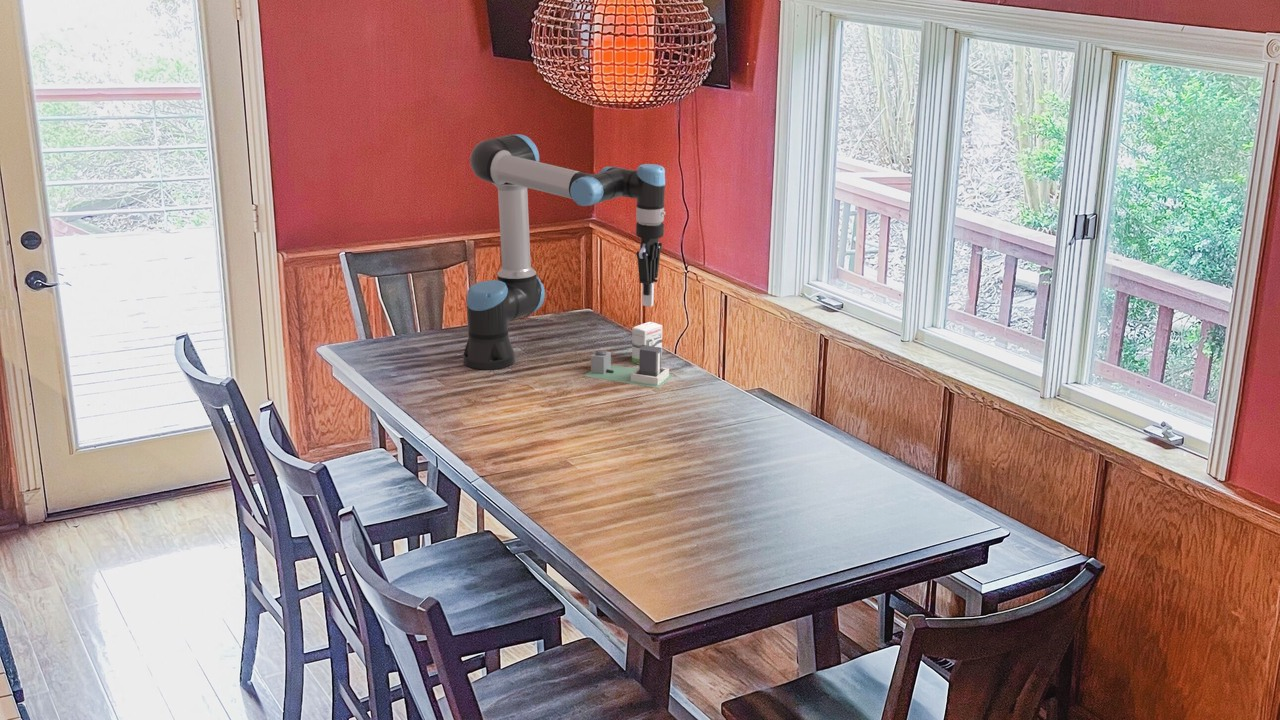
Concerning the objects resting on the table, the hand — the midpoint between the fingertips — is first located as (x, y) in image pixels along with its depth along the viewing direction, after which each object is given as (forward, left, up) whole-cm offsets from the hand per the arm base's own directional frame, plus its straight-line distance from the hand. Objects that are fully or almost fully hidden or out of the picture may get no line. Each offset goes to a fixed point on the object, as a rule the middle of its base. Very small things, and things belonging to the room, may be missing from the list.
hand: (647, 305), depth 347 cm
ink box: (-6, +14, -23) cm, 28 cm away
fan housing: (-13, 0, -21) cm, 25 cm away
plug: (+1, 0, -22) cm, 22 cm away
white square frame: (+1, 0, -22) cm, 22 cm away
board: (-5, 0, -23) cm, 23 cm away
